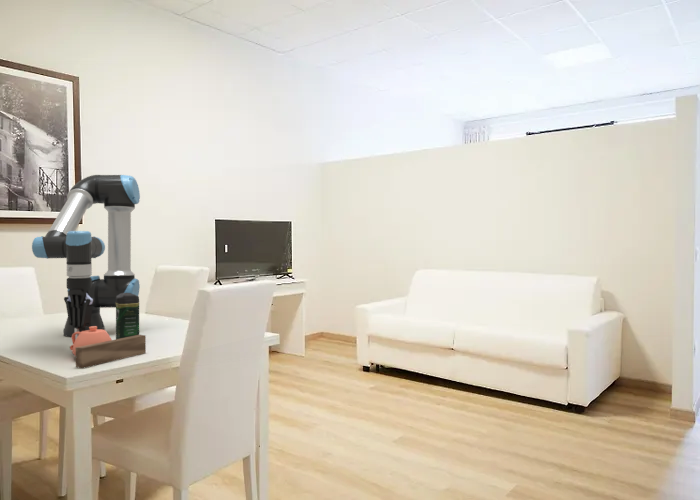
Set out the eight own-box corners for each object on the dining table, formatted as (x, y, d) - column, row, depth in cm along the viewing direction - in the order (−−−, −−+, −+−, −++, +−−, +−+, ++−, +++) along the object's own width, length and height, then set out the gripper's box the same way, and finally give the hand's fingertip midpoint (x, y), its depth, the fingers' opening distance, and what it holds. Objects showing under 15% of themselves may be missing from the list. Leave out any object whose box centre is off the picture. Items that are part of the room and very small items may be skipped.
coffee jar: (141, 343, 200) (141, 293, 200) (118, 345, 196) (118, 294, 195) (136, 339, 208) (135, 291, 208) (114, 341, 204) (113, 292, 203)
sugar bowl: (100, 362, 170) (100, 330, 170) (58, 361, 172) (58, 329, 171) (121, 353, 182) (120, 323, 182) (82, 352, 184) (81, 322, 183)
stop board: (75, 367, 164) (75, 347, 164) (139, 352, 185) (139, 334, 185) (82, 368, 162) (82, 348, 162) (145, 352, 184) (145, 335, 184)
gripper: (56, 277, 180) (56, 347, 181) (81, 278, 174) (82, 351, 175) (76, 275, 187) (77, 343, 187) (102, 277, 181) (102, 347, 181)
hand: (79, 347), depth 181 cm, fingers closed
